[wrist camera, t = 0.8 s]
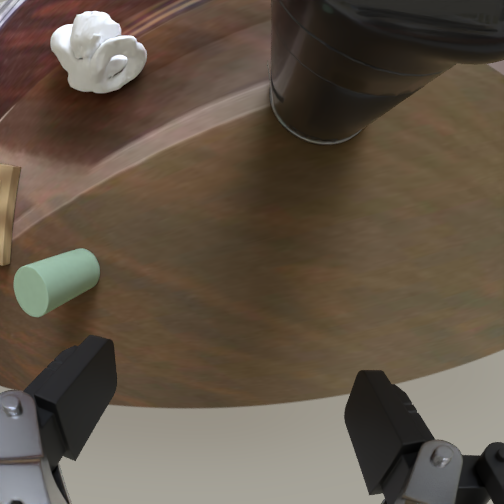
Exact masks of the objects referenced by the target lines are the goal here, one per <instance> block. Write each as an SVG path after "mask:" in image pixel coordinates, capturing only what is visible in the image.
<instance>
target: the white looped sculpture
mask: <svg viewBox="0 0 504 504" xmlns="http://www.w3.org/2000/svg"><path fill="white" fill-rule="evenodd" d="M50 44H51V50H52V51H53V52H54V53H55V55H56V56H57V57H58V60H59V61H60V63H61V65H62V67H63V68H64V69H65V70H66V71H67V72H68V82H69V85H70V87H72V88H74V89H76V90H79V91H82V92H90V91H93V92H95V93H107V92H112V91H115V90H118V89H120V88H121V87H122V86H123V85H125V84H127V83H128V82H129V81H130V80H133V79H134V78H136V76H137V75H138V74H139V73H140V72H141V71H142V69H143V67H144V65H145V62H146V59H147V54H146V50H145V48H144V46H143V45H142V44H141V43H138V42H137V41H136V38H135V37H133V36H121V28H120V25H119V24H118V23H116V22H114V21H113V20H112V19H111V18H110V16H109V15H108V14H106V13H105V12H97V11H93V12H84V13H83V14H79V15H77V16H76V18H75V19H74V23H73V24H71V25H70V24H69V25H64V26H62V27H60V28H58V29H57V30H56V31H55V32H54V33H53V35H52V37H51V43H50ZM121 70H123V71H122V72H120V71H121ZM118 72H120V73H118ZM116 73H118V74H117V75H115V74H116ZM114 75H115V76H114ZM110 77H111V78H110Z"/></svg>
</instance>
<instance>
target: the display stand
mask: <svg viewBox="0 0 504 504" xmlns="http://www.w3.org/2000/svg"><path fill="white" fill-rule="evenodd" d="M20 171H21V167H18V166H13V165H8V164H4V163H0V265H2V266H4V265H7V264H10V256H11V240H12V228H13V218H14V209H15V201H16V194H17V188H18V182H19V176H20Z"/></svg>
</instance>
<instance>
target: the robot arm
mask: <svg viewBox="0 0 504 504" xmlns="http://www.w3.org/2000/svg"><path fill="white" fill-rule="evenodd" d="M502 60H504V0H271V82H270V103H271V107H272V110H273V112H274V114H275V116H276V118H277V119H278V121H279V122H280V124H281V125H282V126H283V127H284V128H285V129H286V130H287V131H288V132H290V133H291V134H292V135H294V136H295V137H297V138H299V139H301V140H303V141H306V142H309V143H312V144H317V145H334V144H339V143H342V142H345V141H347V140H349V139H351V138H352V137H354V136H355V135H357V134H358V133H359V132H360V131H361V130H362V129H363V128H365V127H366V126H368V125H369V124H370V123H372V122H373V121H375V120H376V119H378V118H379V117H380V116H382V115H383V114H385V113H386V112H388V111H389V110H390V109H392V108H393V107H395V106H396V105H398V104H399V103H400V102H402V101H403V100H405V99H406V98H408V97H409V96H411V95H412V94H413V93H415V92H416V91H418V90H419V89H421V88H422V87H424V86H425V85H426V84H428V83H429V82H431V81H432V80H434V79H435V78H437V77H438V76H440V75H441V74H443V73H444V72H446V71H447V70H449V69H450V68H452V67H453V66H454V65H456V64H457V63H459V64H488V63H494V62H498V61H502ZM267 66H268V60H267ZM268 73H269V67H268ZM269 80H270V75H269ZM116 386H117V373H116V364H115V353H114V344H113V341H112V340H110V339H106V338H102V337H98V336H94V335H89V336H88V337H87V338H86V339H85V340H84V341H83V342H82V343H81V344H80V345H79V346H72V347H70V348H68V349H66V350H64V351H62V352H61V353H60V354H59V355H58V356H57V357H56V358H55V359H54V361H52V362H51V363H50V364H49V365H48V366H47V368H45V369H44V370H43V371H42V372H41V373H40V374H39V375H38V376H37V377H36V378H35V379H34V380H33V381H32V383H31V384H30V385H29V386H28V387H27V388H26V389H25V390H24V391H19V390H8V391H5V392H2V393H0V504H72V503H71V500H70V497H69V494H68V491H67V488H66V485H65V482H64V478H63V475H62V471H61V468H60V465H59V461H60V459H61V458H62V456H64V457H67V458H70V459H72V460H74V461H76V459H77V457H78V456H79V454H80V452H81V450H82V448H83V446H84V445H85V443H86V441H87V440H88V438H89V436H90V434H91V433H92V431H93V429H94V428H95V426H96V424H97V422H98V421H99V419H100V417H101V416H102V414H103V412H104V411H105V409H106V407H107V406H108V404H109V402H110V400H111V399H112V397H113V395H114V393H115V390H116ZM344 418H345V424H346V427H347V430H348V432H349V435H350V438H351V441H352V444H353V447H354V450H355V453H356V456H357V459H358V462H359V465H360V468H361V471H362V474H363V477H364V480H365V483H366V486H367V489H368V492H369V495H375V494H381V493H383V494H384V496H385V499H384V500H383V502H382V503H381V504H486V503H487V502H488V501H489V500H490V499H492V501H493V503H494V504H504V443H501V442H495V443H491V444H489V445H488V447H486V449H485V450H484V452H483V453H482V454H481V456H472V455H462V454H461V452H460V450H459V449H458V448H457V447H456V446H454V445H453V444H451V443H449V442H447V441H443V440H435V439H434V437H433V435H432V434H431V432H430V431H429V429H428V427H427V426H426V424H425V423H424V421H423V419H422V418H421V416H420V415H419V413H417V410H416V408H415V407H414V405H412V402H411V401H410V399H409V397H408V396H407V394H406V393H405V392H404V391H402V390H401V389H400V388H399V387H397V386H396V385H395V384H391V383H390V381H389V380H388V378H387V376H386V375H385V373H384V372H383V371H381V370H361V371H359V373H358V374H357V376H356V379H355V382H354V385H353V388H352V391H351V393H350V396H349V399H348V402H347V404H346V408H345V415H344Z"/></svg>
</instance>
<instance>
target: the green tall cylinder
mask: <svg viewBox="0 0 504 504" xmlns="http://www.w3.org/2000/svg"><path fill="white" fill-rule="evenodd" d="M99 276H100V268H99V264H98V261H97V259H96V258H95V256H94V255H93V254H92V253H91V252H90V251H88V250H86V249H82V248H80V249H76V250H72V251H69V252H66V253H63V254H60V255H56V256H53V257H50V258H47V259H44V260H41V261H38V262H35V263H32V264H29V265H26V266H23V267H21V268H20V269H19V270H18V271H17V272H16V275H15V278H14V291H15V295H16V298H17V301H18V303H19V304H20V306H21V307H22V309H23V310H24V311H25V312H26V313H27V314H29V315H30V316H33V317H41V316H43V315H44V314H46V313H48V312H50V311H51V310H53V309H55V308H57V307H58V306H60V305H62V304H64V303H66V302H67V301H69V300H71V299H73V298H74V297H76V296H78V295H80V294H82V293H83V292H85V291H87V290H89V289H91V288H93V287H94V286H95V285H96V284H97V282H98V280H99Z"/></svg>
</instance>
